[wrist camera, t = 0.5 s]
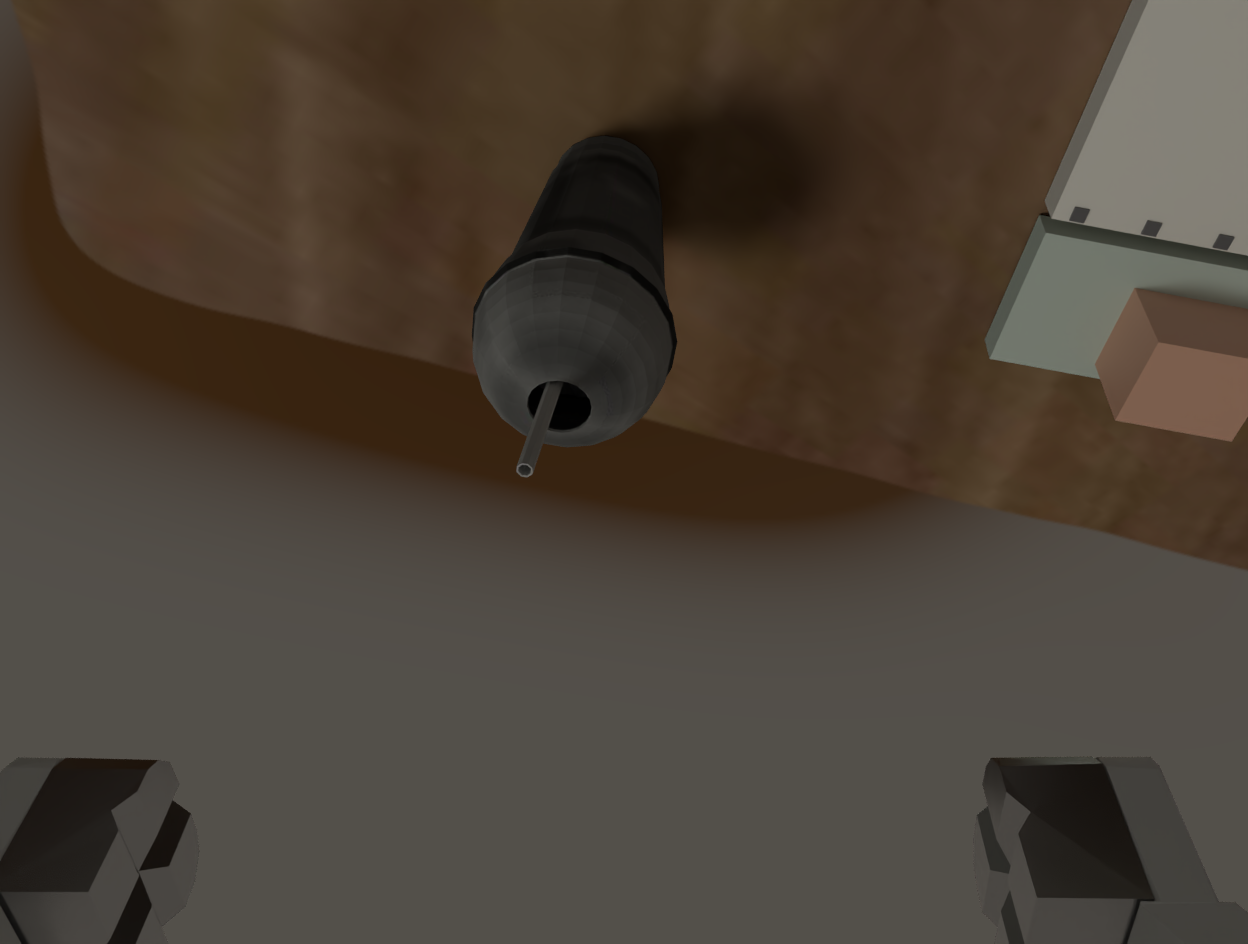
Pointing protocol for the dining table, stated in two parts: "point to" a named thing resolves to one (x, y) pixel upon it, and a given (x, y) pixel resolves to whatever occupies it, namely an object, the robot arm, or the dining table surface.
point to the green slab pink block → (1133, 324)
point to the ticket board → (1166, 129)
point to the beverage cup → (580, 305)
